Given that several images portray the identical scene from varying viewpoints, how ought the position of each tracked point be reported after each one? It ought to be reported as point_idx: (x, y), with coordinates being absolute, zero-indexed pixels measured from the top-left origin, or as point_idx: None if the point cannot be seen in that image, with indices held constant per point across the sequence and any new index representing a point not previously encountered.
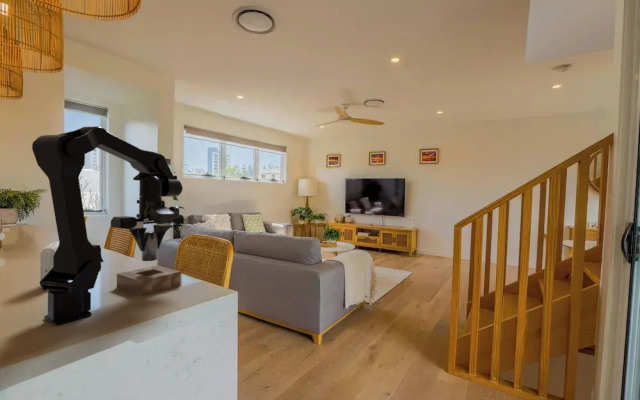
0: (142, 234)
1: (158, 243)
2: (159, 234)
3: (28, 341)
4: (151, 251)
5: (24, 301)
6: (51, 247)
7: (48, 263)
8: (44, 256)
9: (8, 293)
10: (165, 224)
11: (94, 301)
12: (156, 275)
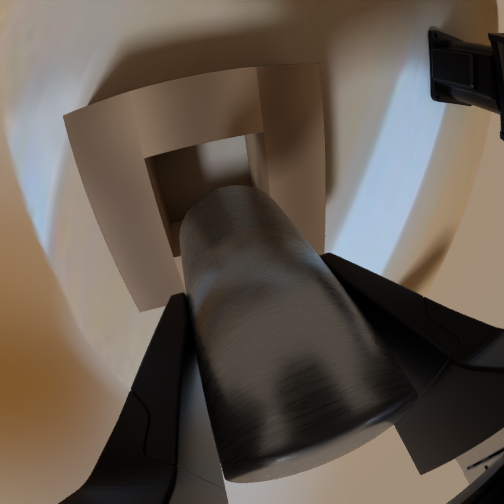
0: (468, 344)
1: (182, 329)
2: (187, 440)
3: (487, 28)
4: (266, 223)
5: (437, 244)
6: None
7: None
8: None
9: None
10: None
11: (392, 132)
12: (211, 107)
